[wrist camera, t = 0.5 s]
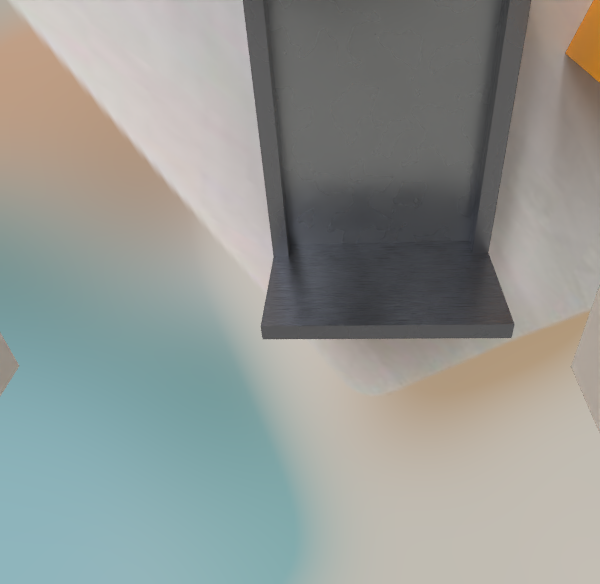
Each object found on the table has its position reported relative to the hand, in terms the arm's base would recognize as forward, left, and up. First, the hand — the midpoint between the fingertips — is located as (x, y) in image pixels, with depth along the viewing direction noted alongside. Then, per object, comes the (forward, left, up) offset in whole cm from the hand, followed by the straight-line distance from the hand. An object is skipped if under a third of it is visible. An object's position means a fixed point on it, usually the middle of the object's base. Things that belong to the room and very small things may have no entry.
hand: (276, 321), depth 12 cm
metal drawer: (+5, +3, -25) cm, 26 cm away
